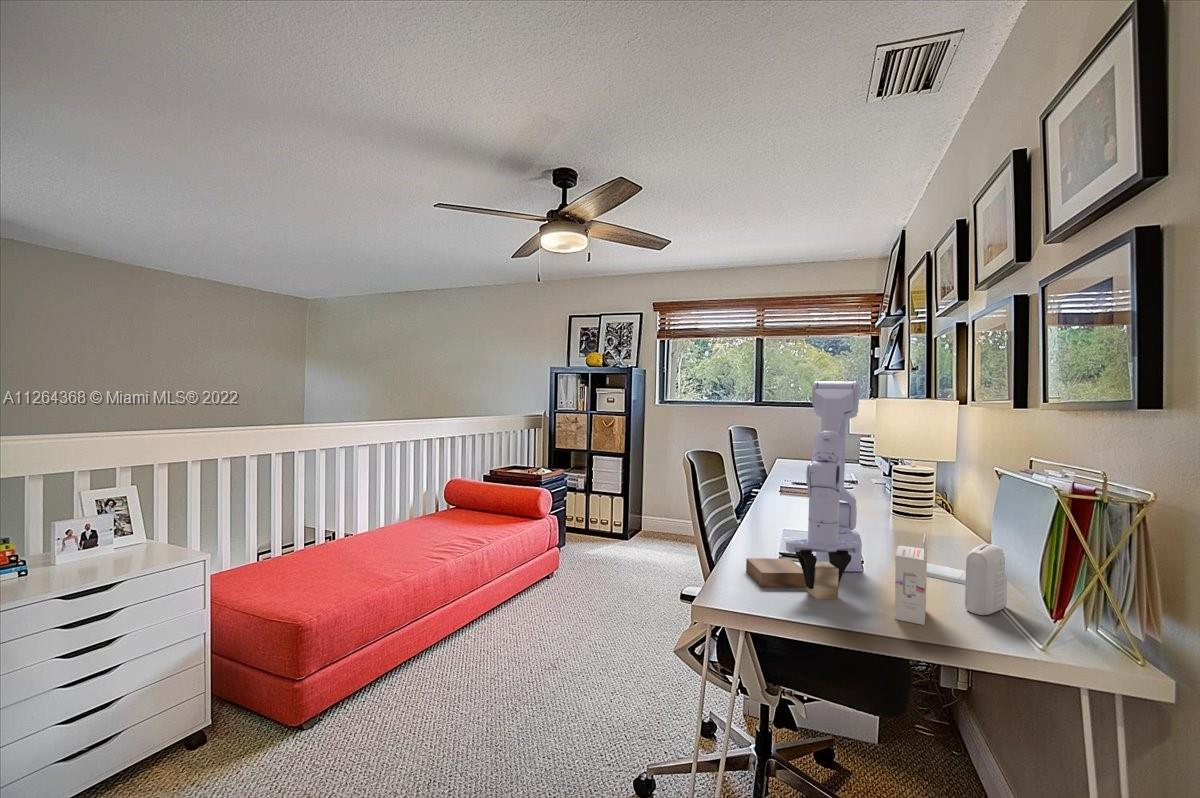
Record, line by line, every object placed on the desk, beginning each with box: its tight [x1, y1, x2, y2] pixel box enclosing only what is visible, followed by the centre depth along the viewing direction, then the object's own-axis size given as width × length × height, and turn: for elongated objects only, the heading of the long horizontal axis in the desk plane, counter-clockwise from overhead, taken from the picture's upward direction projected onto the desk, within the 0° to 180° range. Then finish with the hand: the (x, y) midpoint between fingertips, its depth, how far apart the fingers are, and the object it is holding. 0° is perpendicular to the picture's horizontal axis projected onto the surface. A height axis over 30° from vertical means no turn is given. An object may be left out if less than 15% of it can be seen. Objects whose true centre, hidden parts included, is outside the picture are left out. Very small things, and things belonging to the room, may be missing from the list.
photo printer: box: [964, 543, 1008, 616], centre depth 103 cm, size 10×4×12 cm, turn 123°
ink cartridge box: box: [894, 533, 928, 626], centre depth 99 cm, size 9×5×15 cm, turn 148°
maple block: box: [805, 562, 839, 600], centre depth 108 cm, size 4×4×6 cm
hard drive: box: [927, 562, 966, 585], centre depth 124 cm, size 2×8×12 cm
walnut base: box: [745, 557, 806, 588], centre depth 117 cm, size 10×10×3 cm
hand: (821, 587), depth 108 cm, fingers closed on maple block, 4 cm apart
